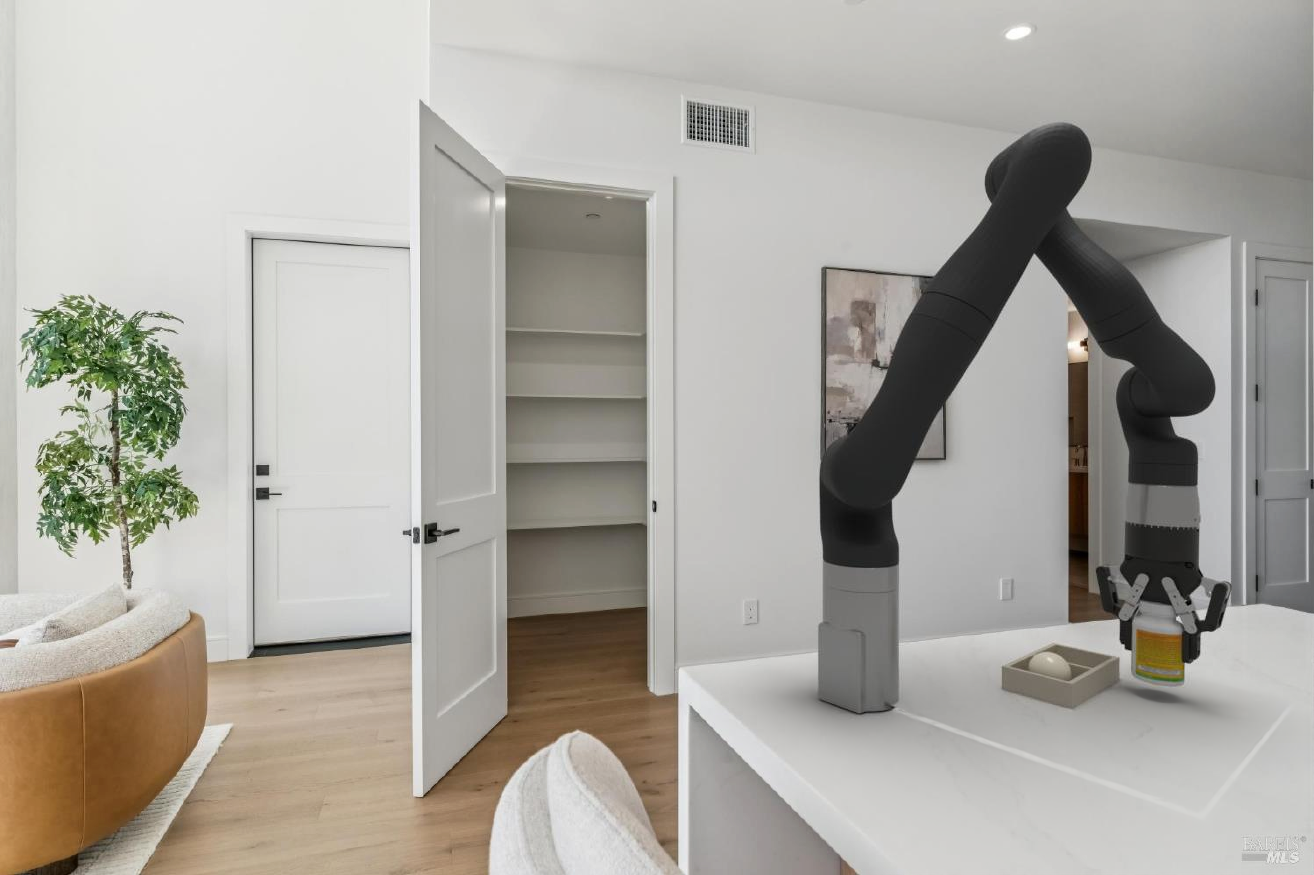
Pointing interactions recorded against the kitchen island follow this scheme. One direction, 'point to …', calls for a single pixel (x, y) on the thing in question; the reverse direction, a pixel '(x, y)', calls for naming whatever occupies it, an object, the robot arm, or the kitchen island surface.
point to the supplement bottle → (1157, 645)
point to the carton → (1086, 680)
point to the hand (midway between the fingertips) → (1158, 655)
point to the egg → (1050, 666)
